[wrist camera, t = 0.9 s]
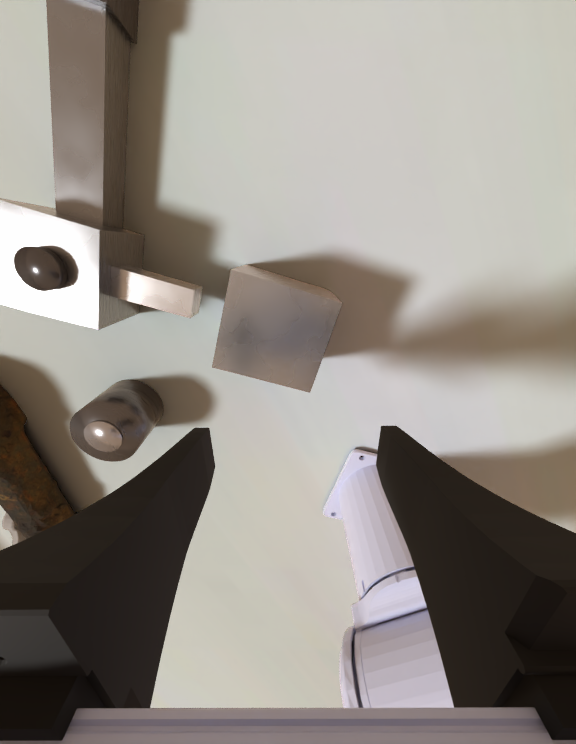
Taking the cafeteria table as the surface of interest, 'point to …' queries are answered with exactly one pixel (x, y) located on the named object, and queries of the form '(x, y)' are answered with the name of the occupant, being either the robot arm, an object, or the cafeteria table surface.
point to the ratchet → (85, 186)
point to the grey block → (274, 327)
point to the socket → (117, 420)
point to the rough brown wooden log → (26, 476)
